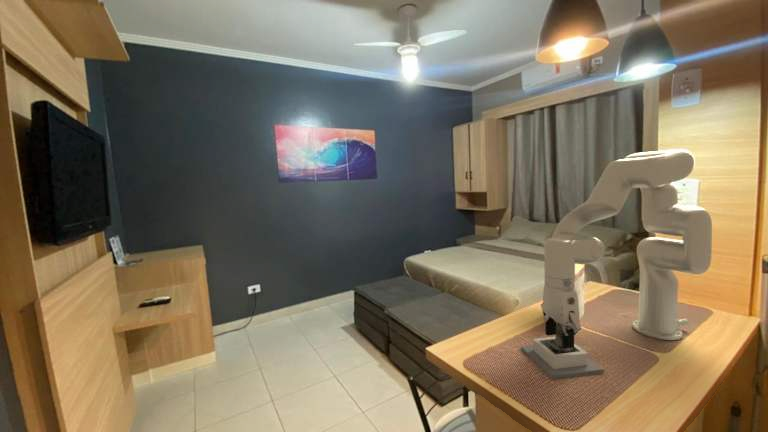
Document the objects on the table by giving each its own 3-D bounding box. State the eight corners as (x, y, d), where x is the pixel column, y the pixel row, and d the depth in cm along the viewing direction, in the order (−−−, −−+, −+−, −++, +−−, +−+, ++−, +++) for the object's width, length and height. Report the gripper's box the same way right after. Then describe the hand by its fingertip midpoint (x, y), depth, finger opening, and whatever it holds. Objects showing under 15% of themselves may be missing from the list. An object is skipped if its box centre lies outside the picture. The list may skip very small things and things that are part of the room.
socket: (565, 344, 99) (565, 331, 99) (603, 372, 84) (603, 357, 84) (520, 349, 98) (520, 335, 97) (551, 379, 83) (551, 363, 82)
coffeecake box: (564, 309, 124) (564, 261, 122) (585, 313, 120) (585, 264, 117) (552, 322, 114) (552, 271, 112) (575, 328, 109) (575, 274, 107)
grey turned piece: (574, 364, 87) (579, 324, 85) (551, 361, 89) (555, 322, 86) (566, 351, 93) (571, 314, 91) (545, 349, 94) (549, 312, 92)
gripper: (595, 290, 80) (594, 355, 82) (552, 271, 97) (552, 326, 99) (567, 293, 79) (567, 359, 81) (529, 273, 97) (530, 328, 99)
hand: (559, 340), depth 90 cm, fingers open, 6 cm apart
